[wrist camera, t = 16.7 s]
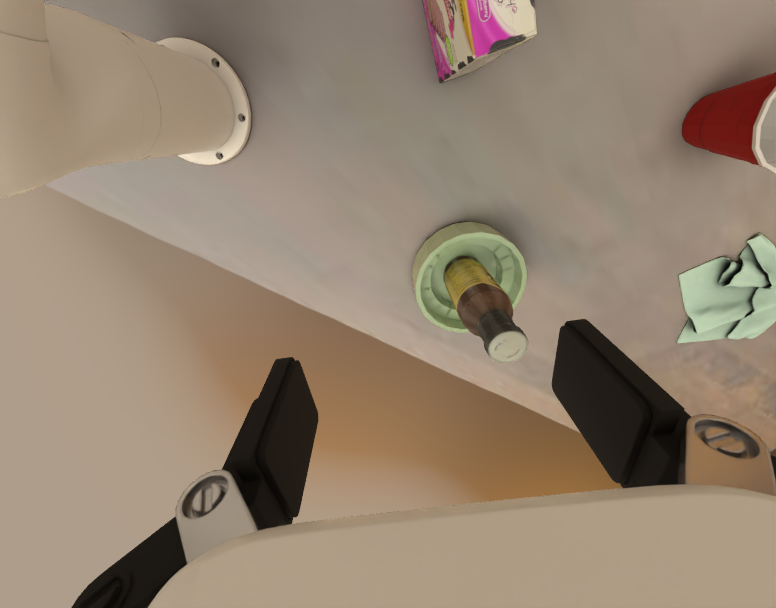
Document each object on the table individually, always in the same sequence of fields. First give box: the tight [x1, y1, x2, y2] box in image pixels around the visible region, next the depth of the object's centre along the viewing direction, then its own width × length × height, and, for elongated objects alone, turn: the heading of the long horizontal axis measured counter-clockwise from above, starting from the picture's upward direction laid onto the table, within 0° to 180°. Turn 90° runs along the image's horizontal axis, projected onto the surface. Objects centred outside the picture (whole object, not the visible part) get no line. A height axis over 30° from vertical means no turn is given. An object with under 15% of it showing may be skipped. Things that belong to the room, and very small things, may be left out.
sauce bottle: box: [443, 256, 528, 364], centre depth 39 cm, size 6×6×20 cm
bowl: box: [412, 222, 527, 333], centre depth 46 cm, size 15×15×6 cm
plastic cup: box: [682, 73, 776, 174], centre depth 34 cm, size 11×11×12 cm
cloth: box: [677, 233, 776, 343], centre depth 51 cm, size 20×22×2 cm
